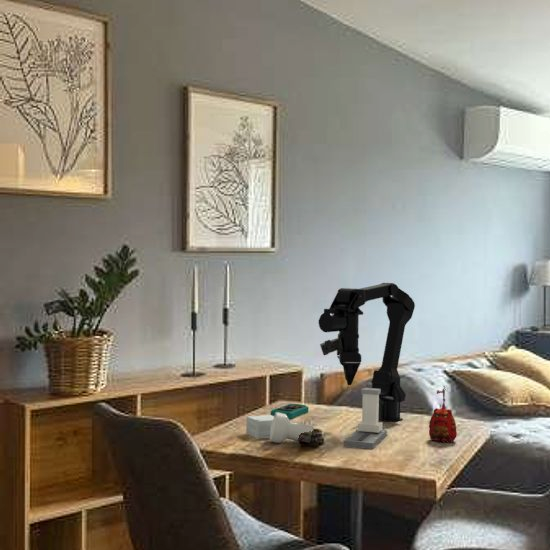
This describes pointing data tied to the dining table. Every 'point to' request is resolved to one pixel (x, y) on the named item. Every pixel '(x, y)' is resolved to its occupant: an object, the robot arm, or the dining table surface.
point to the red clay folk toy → (442, 424)
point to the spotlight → (286, 429)
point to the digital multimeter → (291, 410)
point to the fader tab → (370, 411)
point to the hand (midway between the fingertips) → (348, 382)
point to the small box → (259, 426)
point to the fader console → (365, 439)
